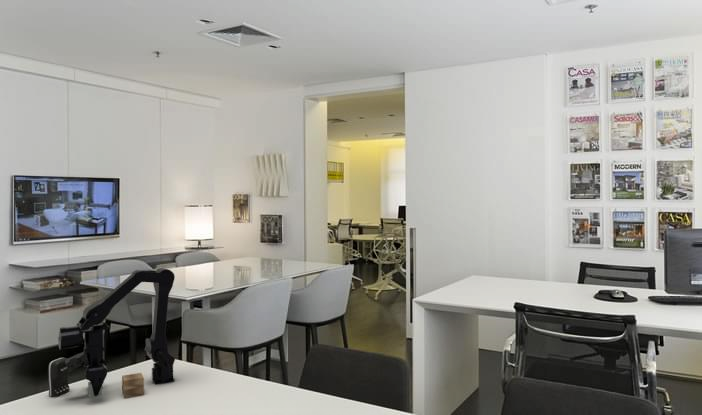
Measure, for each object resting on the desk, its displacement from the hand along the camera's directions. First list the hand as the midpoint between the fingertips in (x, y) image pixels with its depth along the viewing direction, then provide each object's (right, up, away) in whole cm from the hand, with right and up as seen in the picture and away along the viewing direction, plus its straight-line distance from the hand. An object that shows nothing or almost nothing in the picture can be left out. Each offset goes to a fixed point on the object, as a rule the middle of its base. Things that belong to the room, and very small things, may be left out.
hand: (95, 391), depth 177 cm
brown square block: (+12, +2, 0) cm, 13 cm away
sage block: (0, -1, 0) cm, 1 cm away
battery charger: (-12, -1, +1) cm, 12 cm away
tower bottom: (+12, -1, 0) cm, 12 cm away
